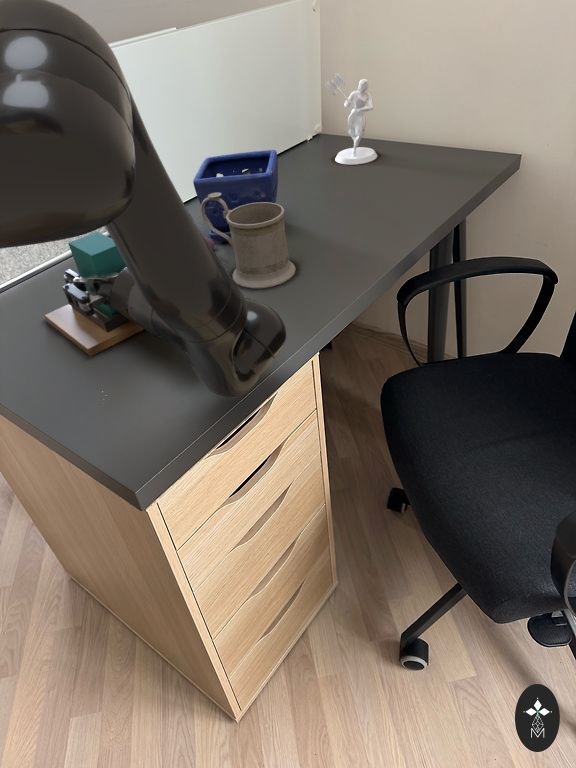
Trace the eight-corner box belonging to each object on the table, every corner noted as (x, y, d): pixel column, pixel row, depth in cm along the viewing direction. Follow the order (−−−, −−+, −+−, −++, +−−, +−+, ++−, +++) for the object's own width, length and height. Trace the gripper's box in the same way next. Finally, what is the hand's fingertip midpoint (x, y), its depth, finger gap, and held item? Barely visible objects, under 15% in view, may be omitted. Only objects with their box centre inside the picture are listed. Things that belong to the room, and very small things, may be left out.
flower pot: (204, 249, 98) (189, 180, 91) (216, 219, 108) (204, 154, 101) (280, 244, 96) (271, 173, 89) (285, 213, 107) (278, 147, 99)
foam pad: (114, 321, 79) (91, 255, 73) (91, 306, 84) (67, 242, 78) (141, 308, 82) (121, 243, 75) (117, 293, 86) (97, 231, 80)
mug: (305, 262, 90) (298, 187, 83) (277, 292, 83) (266, 213, 76) (228, 252, 96) (215, 181, 89) (196, 279, 89) (179, 205, 82)
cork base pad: (90, 356, 75) (84, 339, 73) (47, 322, 84) (40, 306, 82) (188, 306, 83) (184, 290, 81) (139, 279, 92) (135, 264, 90)
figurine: (329, 164, 126) (323, 74, 115) (338, 151, 133) (333, 64, 122) (373, 164, 123) (372, 71, 112) (380, 150, 130) (379, 61, 119)
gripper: (197, 251, 71) (131, 222, 81) (95, 298, 64) (37, 260, 74) (208, 303, 76) (144, 270, 86) (115, 352, 69) (57, 309, 79)
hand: (95, 265), depth 80 cm, fingers open, 7 cm apart
